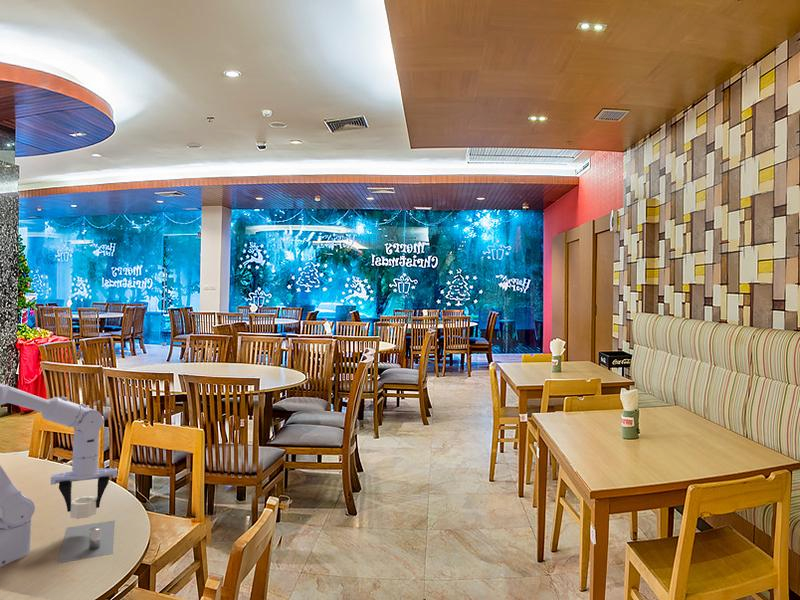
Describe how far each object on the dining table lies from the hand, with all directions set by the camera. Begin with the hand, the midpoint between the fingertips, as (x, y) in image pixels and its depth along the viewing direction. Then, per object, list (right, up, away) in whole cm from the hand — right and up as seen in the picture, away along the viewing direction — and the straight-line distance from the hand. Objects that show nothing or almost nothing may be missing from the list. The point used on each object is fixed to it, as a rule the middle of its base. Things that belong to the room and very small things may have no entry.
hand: (83, 508), depth 134 cm
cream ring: (0, -1, 0) cm, 1 cm away
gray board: (+3, -8, -4) cm, 9 cm away
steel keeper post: (+7, -7, -7) cm, 12 cm away
